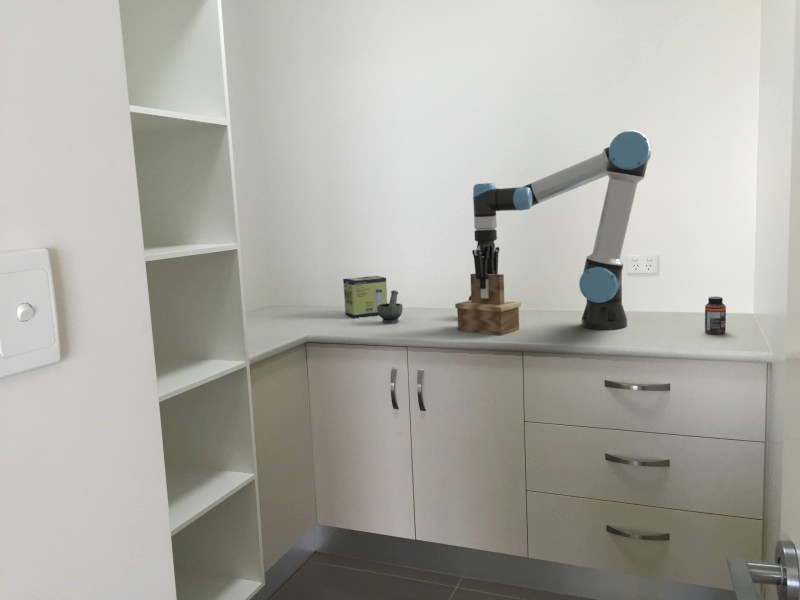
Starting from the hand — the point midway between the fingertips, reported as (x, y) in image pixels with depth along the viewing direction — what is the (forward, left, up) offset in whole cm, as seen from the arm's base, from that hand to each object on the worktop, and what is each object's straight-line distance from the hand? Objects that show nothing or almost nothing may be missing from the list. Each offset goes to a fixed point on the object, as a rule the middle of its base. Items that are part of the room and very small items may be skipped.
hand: (487, 297), depth 233 cm
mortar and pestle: (+42, +4, -12) cm, 44 cm away
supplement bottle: (-66, -29, -12) cm, 73 cm away
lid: (0, 0, -4) cm, 4 cm away
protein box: (+64, -5, -12) cm, 65 cm away
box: (0, 0, -12) cm, 12 cm away
